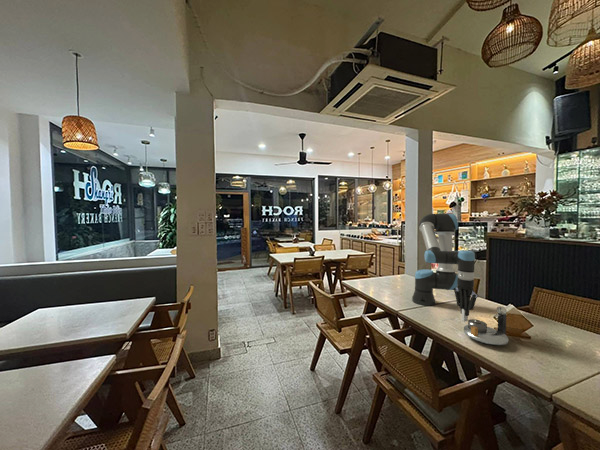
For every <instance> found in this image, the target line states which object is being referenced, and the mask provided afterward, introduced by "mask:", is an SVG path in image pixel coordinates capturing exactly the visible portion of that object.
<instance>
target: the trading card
mask: <svg viewBox="0 0 600 450" xmlns="http://www.w3.org/2000/svg"><path fill="white" fill-rule="evenodd" d="M447 320H448V321H450V320H452V318H450V319H449V318H448V319H445V321H447ZM455 320H456V321H458V322H461V323H462V324H464V325H465V326H466V325H468V323H467V324H466V323H465V322H464V321H462V320H459V319H457V318H455ZM445 321H444V320H443V319H440V322H442V323H444V324H445V325H448V326H450V327H451V328H453V329H455V330H456V331H458V332H460V333H462V334H463V335H465V336H467V335H466V334H465V333H464V332H462V331H461V330H460V329H457V328H455V327H453V326H452V325H450V324H448V323H447V322H445Z"/></svg>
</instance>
